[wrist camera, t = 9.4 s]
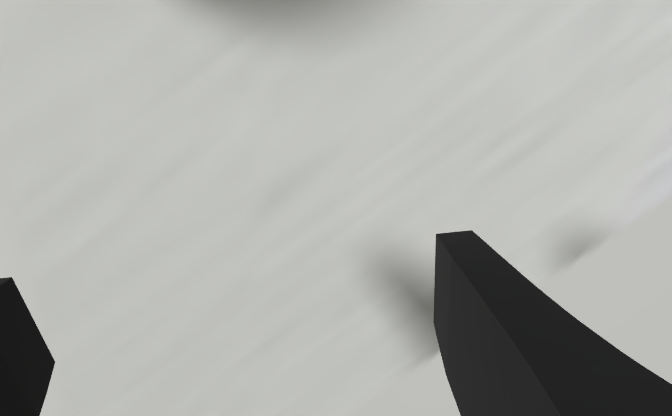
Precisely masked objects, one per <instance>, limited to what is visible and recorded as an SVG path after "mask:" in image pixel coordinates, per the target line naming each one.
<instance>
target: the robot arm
mask: <svg viewBox="0 0 672 416" xmlns="http://www.w3.org/2000/svg"><path fill="white" fill-rule="evenodd" d="M434 326H435V330H436V335H437V339H438V343H439V347H440V352H441V356H442V360H443V363H444V368H445V372H446V375H447V378H448V381H449V384H450V387H451V390H452V392H453V395H454V398H455V400H456V403H457V406H458V409H459V412H460V414H461V416H672V384H670V383H669V382H667V381H665V380H664V379H662V378H661V377H659V376H658V375H656V374H654V373H653V372H651V371H650V370H648V369H646V368H645V367H643V366H642V365H640V364H639V363H637V362H636V361H634V360H633V359H631V358H630V357H628V356H627V355H626V354H624V353H623V352H621V351H620V350H618V349H617V348H615V347H614V346H613V345H611V344H610V343H608V342H607V341H606V340H604V339H603V338H602V337H600V336H599V335H597V334H596V333H595V332H593V331H592V330H591V329H589V328H588V327H587V326H585V325H584V324H582V323H581V322H580V321H578V320H577V319H576V318H575V317H573V316H572V315H570V314H569V313H568V312H567V311H565V310H564V309H563V308H562V307H561V306H559V305H558V304H557V303H556V302H554V301H553V300H552V299H551V298H549V297H548V296H547V295H546V294H544V293H543V292H542V291H541V290H540V289H538V288H537V287H536V286H535V285H534V284H532V283H531V282H530V281H529V280H528V279H527V278H525V277H524V276H523V275H522V274H521V273H520V272H519V271H517V270H516V269H515V268H514V267H513V266H512V265H510V264H509V263H508V262H507V261H506V260H505V259H504V258H502V257H501V256H500V255H499V254H498V253H497V252H496V251H495V250H493V249H492V248H491V247H490V246H489V245H488V244H487V243H486V242H484V241H483V240H482V239H481V238H480V237H479V236H477V235H476V234H475V233H474V232H473V231H472V230H471V231H461V232H451V233H441V234H436V256H435V292H434ZM54 364H55V361H54V359H53V357H52V355H51V353H50V351H49V349H48V347H47V345H46V343H45V341H44V339H43V337H42V336H41V334H40V332H39V330H38V328H37V326H36V324H35V322H34V320H33V318H32V316H31V314H30V312H29V310H28V308H27V306H26V304H25V302H24V300H23V298H22V297H21V295H20V292H19V290H18V288H17V286H16V285H15V283H14V281H13V279H12V277H10V278H0V416H39V415H40V412H41V408H42V406H43V403H44V399H45V396H46V393H47V390H48V386H49V382H50V379H51V375H52V371H53V368H54Z"/></svg>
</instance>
